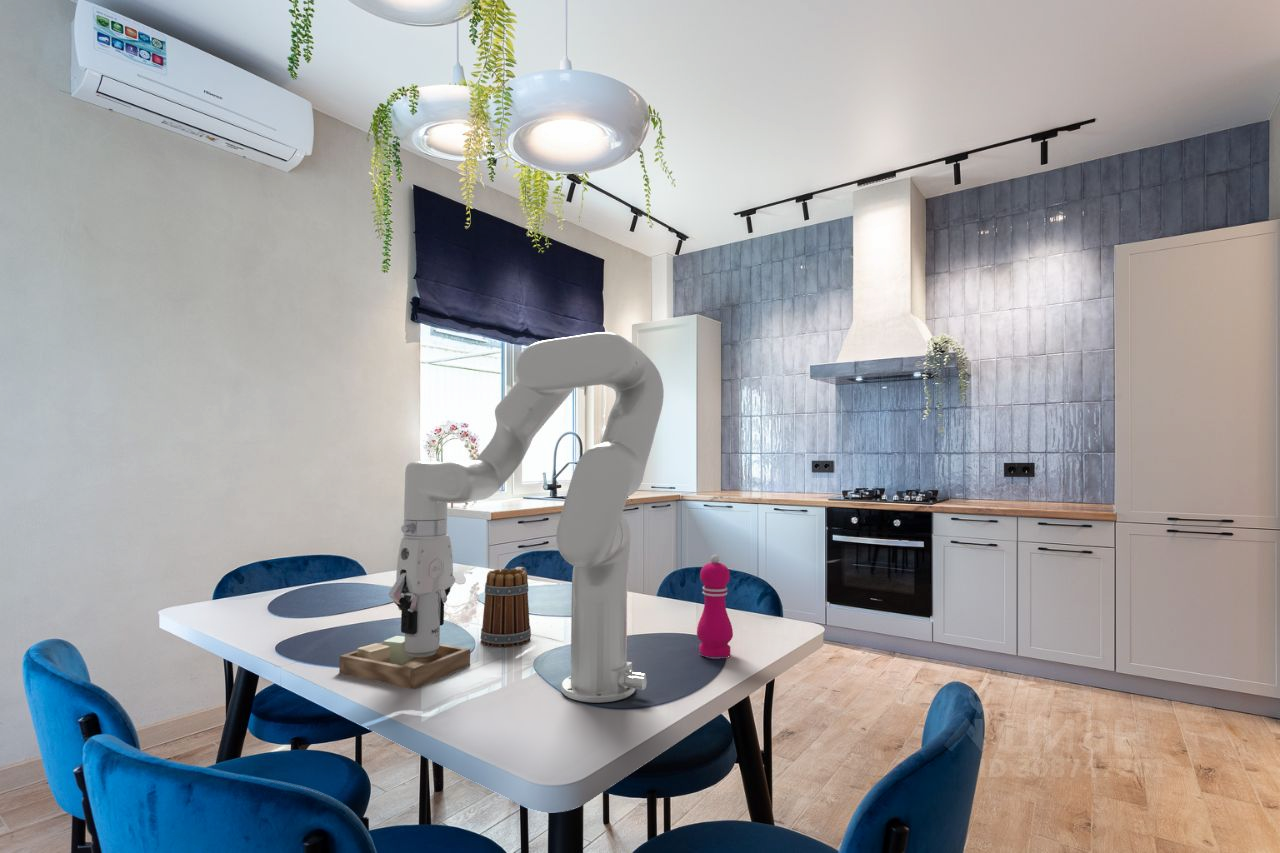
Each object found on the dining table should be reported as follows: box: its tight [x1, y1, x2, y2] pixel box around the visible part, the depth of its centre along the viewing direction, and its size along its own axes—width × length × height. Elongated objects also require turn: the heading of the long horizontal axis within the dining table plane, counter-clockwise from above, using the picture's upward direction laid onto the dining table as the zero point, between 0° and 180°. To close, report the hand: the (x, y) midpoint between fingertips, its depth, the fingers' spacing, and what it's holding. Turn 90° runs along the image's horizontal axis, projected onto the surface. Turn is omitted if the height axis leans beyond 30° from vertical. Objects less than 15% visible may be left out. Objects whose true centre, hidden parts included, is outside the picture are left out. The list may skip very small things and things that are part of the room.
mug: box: [480, 566, 532, 648], centre depth 143 cm, size 16×11×15 cm
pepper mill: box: [696, 554, 734, 658], centre depth 134 cm, size 7×7×20 cm
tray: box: [338, 641, 471, 690], centre depth 121 cm, size 18×14×4 cm
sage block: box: [382, 635, 414, 665], centre depth 126 cm, size 4×4×4 cm
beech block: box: [356, 642, 390, 663], centre depth 121 cm, size 4×4×4 cm
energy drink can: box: [404, 579, 441, 657], centre depth 120 cm, size 6×6×15 cm
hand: (422, 627), depth 120 cm, fingers closed on energy drink can, 6 cm apart
